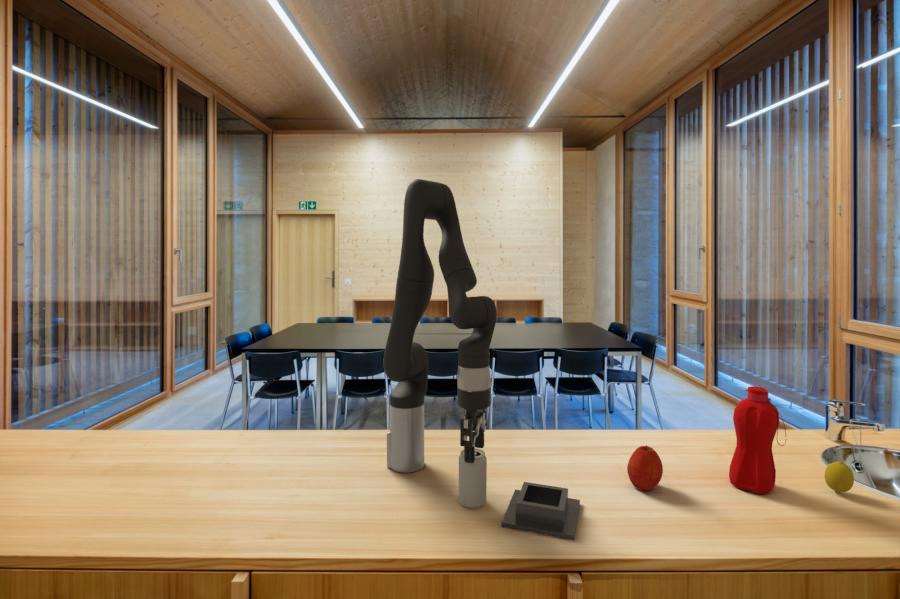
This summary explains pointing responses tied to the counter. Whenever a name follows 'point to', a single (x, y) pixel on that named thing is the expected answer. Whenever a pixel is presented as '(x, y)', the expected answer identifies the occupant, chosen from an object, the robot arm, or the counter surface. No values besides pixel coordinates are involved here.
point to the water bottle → (754, 442)
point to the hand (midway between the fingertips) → (474, 454)
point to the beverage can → (473, 480)
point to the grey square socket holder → (542, 511)
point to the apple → (645, 468)
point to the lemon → (839, 477)
